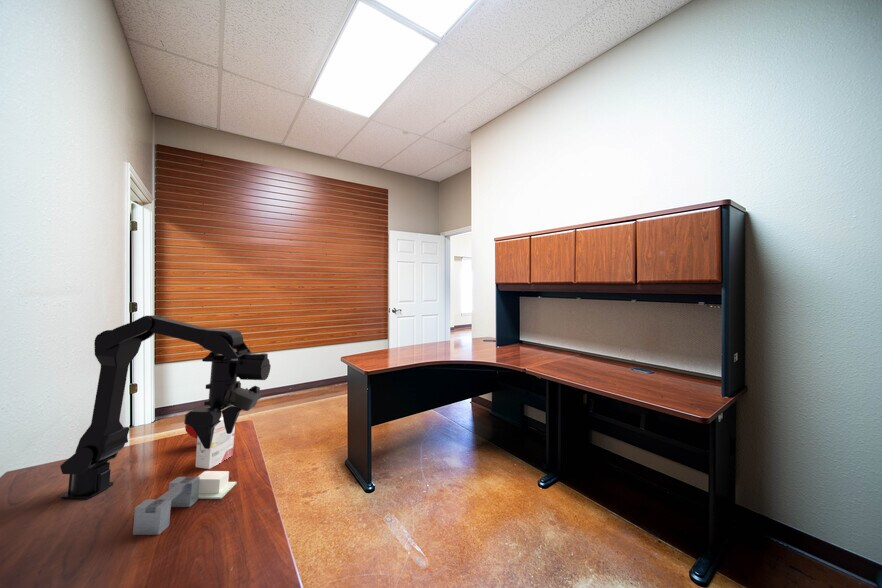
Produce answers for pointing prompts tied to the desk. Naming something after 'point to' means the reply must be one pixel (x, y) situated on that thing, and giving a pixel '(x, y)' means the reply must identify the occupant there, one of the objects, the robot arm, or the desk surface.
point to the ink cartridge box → (215, 447)
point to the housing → (165, 506)
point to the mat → (217, 495)
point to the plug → (213, 481)
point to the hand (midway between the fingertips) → (218, 440)
